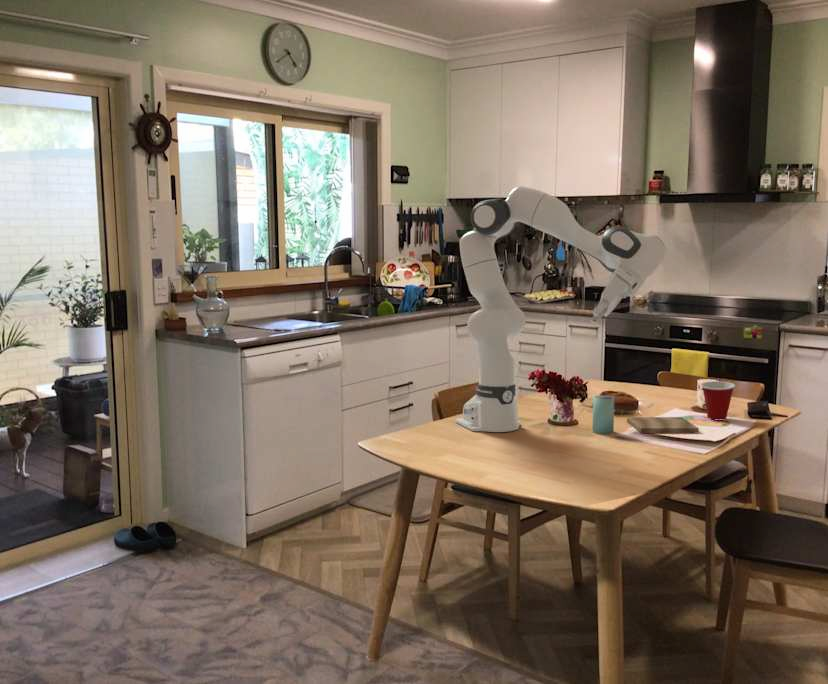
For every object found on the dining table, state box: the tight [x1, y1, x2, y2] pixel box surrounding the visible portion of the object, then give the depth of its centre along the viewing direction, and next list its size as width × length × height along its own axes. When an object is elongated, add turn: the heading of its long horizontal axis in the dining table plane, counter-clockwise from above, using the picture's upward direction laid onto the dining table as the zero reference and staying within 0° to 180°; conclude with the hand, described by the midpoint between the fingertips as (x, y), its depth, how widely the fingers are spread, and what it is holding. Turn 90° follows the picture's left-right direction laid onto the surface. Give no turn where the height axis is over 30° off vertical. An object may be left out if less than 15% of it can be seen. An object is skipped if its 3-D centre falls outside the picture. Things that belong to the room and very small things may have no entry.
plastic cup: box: [700, 380, 736, 421], centre depth 269 cm, size 11×11×12 cm
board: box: [626, 416, 700, 434], centre depth 258 cm, size 18×16×2 cm
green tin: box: [592, 395, 615, 435], centre depth 251 cm, size 6×6×11 cm
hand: (593, 318), depth 234 cm, fingers open, 8 cm apart
